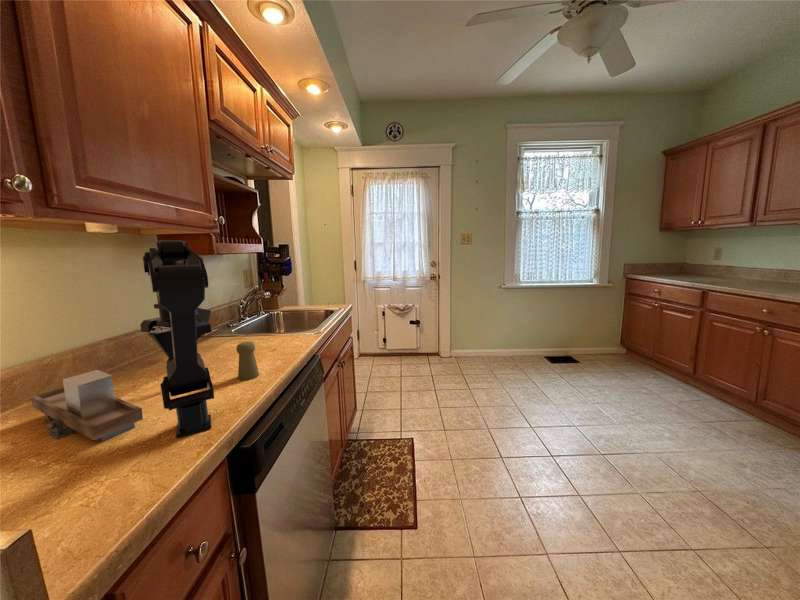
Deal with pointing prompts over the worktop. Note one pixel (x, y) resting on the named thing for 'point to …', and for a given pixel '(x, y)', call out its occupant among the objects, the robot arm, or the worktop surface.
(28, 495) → the worktop surface
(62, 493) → the worktop surface
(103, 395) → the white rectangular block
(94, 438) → the wooden serving tray
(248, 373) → the cork
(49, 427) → the pivot stand
